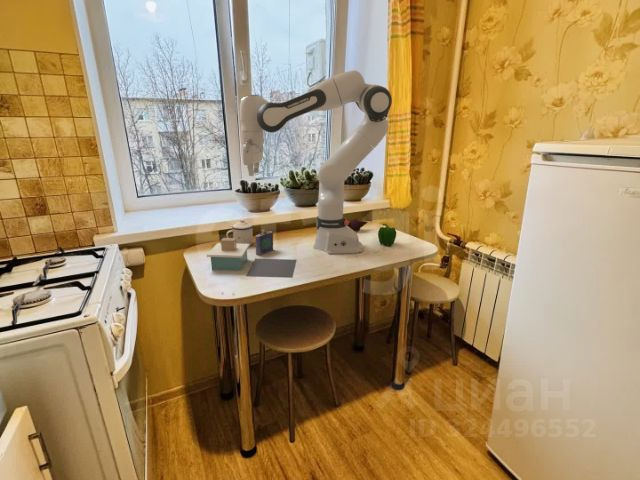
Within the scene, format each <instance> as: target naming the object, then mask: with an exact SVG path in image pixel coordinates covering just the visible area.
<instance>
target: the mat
mask: <svg viewBox="0 0 640 480" xmlns="http://www.w3.org/2000/svg"><path fill="white" fill-rule="evenodd" d="M296 264H297V259H287V258H286V259H284V258H256V257H255V259H254V260H253V262H252V263H251V265H250V267H249V269H248V270H247V273H246V274H245V277H254V278H255V277H259V278H260V277H261V278H289V279H290V278H291V279H293V277H294V273H295V269H296Z"/></svg>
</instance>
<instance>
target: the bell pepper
mask: <svg viewBox="0 0 640 480" xmlns="http://www.w3.org/2000/svg"><path fill="white" fill-rule="evenodd" d="M383 226H385V227H383ZM377 237H378V242H379V244H380V245H382V244H384V245H383V246H386V245H391V246H392V245H394V244H395V240H396V238H397V230H396V228H395V227H391V226H389V224H387V223H382V226H380V227H379V229H378V231H377Z"/></svg>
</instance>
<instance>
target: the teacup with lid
mask: <svg viewBox="0 0 640 480" xmlns="http://www.w3.org/2000/svg"><path fill="white" fill-rule="evenodd" d="M231 227H232V229H230V230H228V231H227V232H226V235H225V236H226V238H230V237H229V234H230V233H232V236H233V237H232V238H236V243H237V244H250V246H253V244H254V236H253V235H254V234H253V228H254V226H253V224H252V223H251V222H248V221H246V220H245V219H243V218H242V219H240V220H239V221H238V222H236V223H234V224H233V225H232V226H231ZM250 246H249V247H250Z"/></svg>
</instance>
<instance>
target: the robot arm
mask: <svg viewBox="0 0 640 480" xmlns="http://www.w3.org/2000/svg"><path fill="white" fill-rule="evenodd" d="M350 103H355V105H356V106H357V107H358V109H359V110H360V111H361V112H363V113H364V117H363V120H362V121H361V122H360V124H359V125H357V126H356V128H355V129H353V131H352V132H351V133H350V134H349V135H347V136H348V137H346V138H345V140H343V142H341V144H340V145H339V146H338V147H337V148H336V149H335V151H334V152H333V153H332V154H330V156H329V157H328V159H325V160H324V161H323V162H322V164H321V165H320V167H319V170H318V171H317V172H318V173H317V178H318V182H319V183H318V185H319V186H318V199H317V200H318V201H317V203H318V204H317V205H318V208H317V213H318V214H317V217H316V237H315V242H314V244H313V248H314V249H316V250H318V251H321V252H324V253H326V254H328V255H340V254H342V255H343V254H360V253H359V252H361V253H362V252H364V244H363V243H362V242H361V241H360V240H359V236H358V233H357V231H353V230H352V229H351V228H350V227H348V226H347V225H348V224H349V222H350V221H349V220H348V219H347V217H344V203H345V202H344V201H345V200H344V198H345V196H344V195H345V182H346V180H347V179H348V177H350V175H351V174H352V173H353V172H354V171H355V170H356V169H357V167H358V166H359V165H360V164H361V163H362V161H364V159H366V157H367V156H368V155H369V154H370V153H371V152H373V151H374V149H375V148H376V147H377V146H378V145H379V144H380V143H381V142H382V140H383V139H384V137H385V136H386V135H387V133H388V132H389V128H390V125H389V124H390V123H389V122H388V119H387V118H388V115H389V112H390V110H391V107H392V103H393V97H392V94H391V93H390V91H389V90H388V89H387V87H385V86H381V85H378V84H370V83H368V84H367V83H366V82H365V79H364V76H363V75H362V73H361V72H359V71H358V70H356V69H355V70H348V71H345V72H341V73H338V74H335V75H332V76H330V77H328V78H326V79H324V80H323V81H320V82H319V83H317V84H316V85H314V86H313V87H312V88H311V89H309V90H308V91H306V92H305V93H303V94H300V95H298V96H297V97H293V98H291V99H289V100H286V101H283V102H270V101H268V100H267V99H265V98H264V97H262V96H261V95H260V94H250V95H246V96H243V97H242V98H241V100H240V104H239V121H240V123H241V128H240V141H241V144H242V145H243V147H242V158H243V159H242V161H243V165H244V166H247V167H246V168H247V171H248V176H249V177H253V176H254V175H255V174H258V173H259V172H260V169H259V168H260V162H262V161H263V157H264V156H263V153H264V144H265V137H264V132H267V133H276V132H278V131H281V130H283V128H285V126H286V124H287V123H288V122H289V121H291V120H292V119H295V118H297V117H300V116H302V115H305V114H307V113H310V112H318V111H319V112H320V111H321V112H326V111H331V110H334V109H335V110H336V109H338V108H340V107H342V106H344V105H347V104H350Z"/></svg>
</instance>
